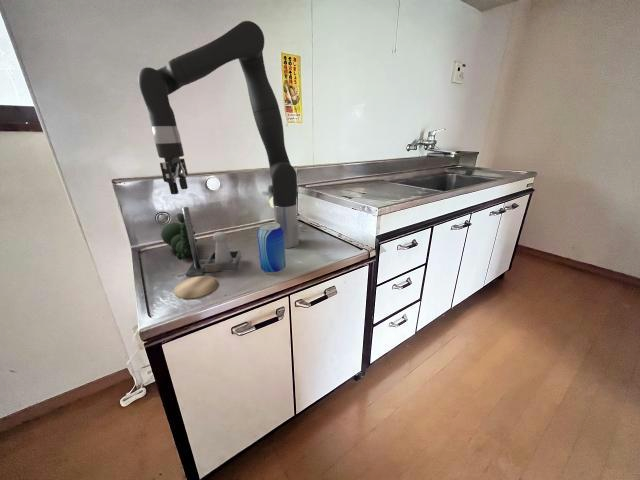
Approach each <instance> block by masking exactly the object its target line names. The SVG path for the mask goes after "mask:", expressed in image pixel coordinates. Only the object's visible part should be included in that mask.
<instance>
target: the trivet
mask: <svg viewBox="0 0 640 480" xmlns="http://www.w3.org/2000/svg"><path fill="white" fill-rule="evenodd" d="M218 283H219V282H218V280H217V278H216V277H213V276H210V275H200V276H192V277H190V278H188V279H185V280H182V281H181V282H180V283H177V285H176V286H175V288H174V290H173V292H174V295H175V297H177V298H179V299H181V298H184V299H183V300H191V299H190V298H194V299H198V298H197V297H199V298H201V297H200V296H202V297H204V296H203V295H205V296H207V295H209V294H211V293H212V292H214V291H215V290H216V289H217V287H218ZM214 289H215V290H214ZM211 291H212V292H211ZM210 292H211V293H210ZM208 293H209V294H208ZM206 294H207V295H206Z"/></svg>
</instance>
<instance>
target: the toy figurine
mask: <svg viewBox="0 0 640 480" xmlns="http://www.w3.org/2000/svg"><path fill="white" fill-rule="evenodd" d="M176 218H177V220H178V221H179V222H171V223H167V224H166V225H165V226H164V227H163V229H162V231H161V234H160V235H161V239H162V241H163V242H164V243H165V244H166V245H167V246H170V248H171V249H170V250H171V251H170V252H171V253H172V254H174V255H175V256H176V258H178V259H182V260H186V259H187V258H188V256H192V252H191V247H190V243H189V238H188V233H187V229H186V224H185V219H184V215H183V212H181V213H180V212H179V213H177V214H176ZM192 227H193V228H194V225H193V224H192ZM193 232H194V235H195V234H196V231H194V230H193ZM195 242H196V243H197V242H198V239H197V238H195ZM198 250H199V248H198V247H197V251H198Z"/></svg>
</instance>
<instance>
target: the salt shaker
mask: <svg viewBox="0 0 640 480" xmlns="http://www.w3.org/2000/svg"><path fill="white" fill-rule="evenodd" d="M212 239H213V242H215V251H214V252H215V260H214V263H229V262H234V260H233V259H234V258H232V256H231V254H230V251H231V250H230V249H229V248H230V247H229V246H228V244H227V241H226V239H228V238H227V233H226V232H224V231H217V232H214V233H213V234H212Z"/></svg>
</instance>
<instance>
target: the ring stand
mask: <svg viewBox="0 0 640 480" xmlns="http://www.w3.org/2000/svg"><path fill="white" fill-rule="evenodd" d="M181 210H182V214H183V215H184V219H185V224H186V229H187V233H188V238H189V243H190V247H191V252H192V254H191V256H192V260H193V262H192V264H191V265H190V267H189V268H188V270H187V271H186V272H185V277H198V276H204V275H203V274H204V273H207V272H208V273H209V272H224V271H227V272H228V271H237V270H238V268H239V265H240V262H241V259H242V253H241V252H242V251H241V250H229V251H230V254H231V256H232V259H234V260H233V262H229V263H215V251H211V253H210V255H209V256H208V257H207V259H206V258H205V259H204V258H203V259H200V257H199V251H198V250H197V248H198V247H197V242H195V239H196V238H195V234H194V232H195V231H194V226H193V227H192V225H193V223H192V218H191V214H190V208H189V207H188V206H185V207H181ZM193 231H194V232H193Z"/></svg>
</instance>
